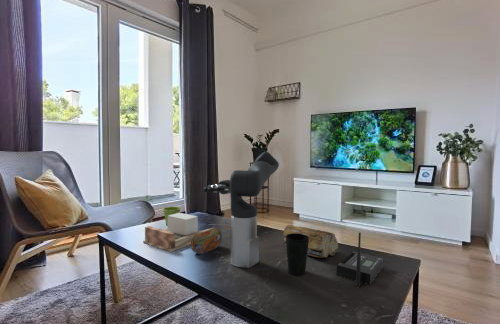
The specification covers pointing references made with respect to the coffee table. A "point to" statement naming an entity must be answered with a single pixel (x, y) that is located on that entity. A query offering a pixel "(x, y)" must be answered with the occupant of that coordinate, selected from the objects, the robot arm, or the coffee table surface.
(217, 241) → the tin
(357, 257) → the wireless controller
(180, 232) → the white rectangular block
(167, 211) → the plant pot
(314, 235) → the petrified wood
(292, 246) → the cup
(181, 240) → the roller track
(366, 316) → the coffee table surface
